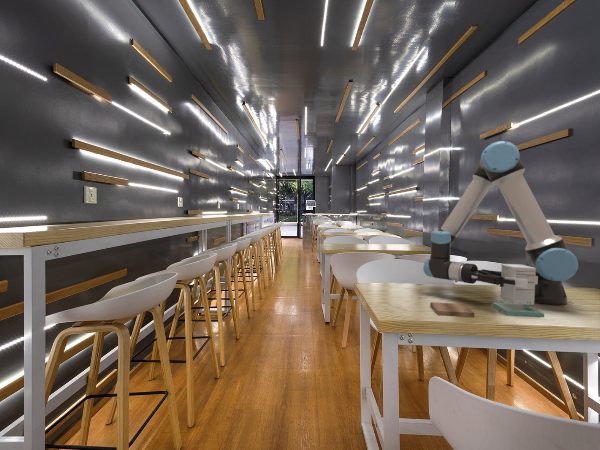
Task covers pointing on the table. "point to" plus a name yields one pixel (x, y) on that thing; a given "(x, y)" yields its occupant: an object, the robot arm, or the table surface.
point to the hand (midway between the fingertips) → (532, 282)
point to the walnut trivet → (451, 309)
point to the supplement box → (517, 293)
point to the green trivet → (517, 310)
